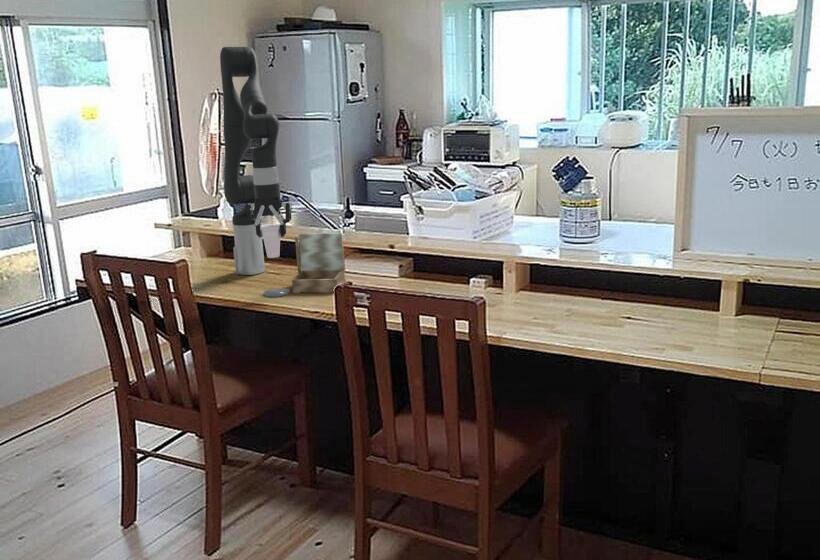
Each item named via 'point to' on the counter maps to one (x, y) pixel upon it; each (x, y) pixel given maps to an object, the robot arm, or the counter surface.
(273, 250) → the smoothie
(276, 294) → the coaster
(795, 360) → the counter surface
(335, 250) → the cold frame
